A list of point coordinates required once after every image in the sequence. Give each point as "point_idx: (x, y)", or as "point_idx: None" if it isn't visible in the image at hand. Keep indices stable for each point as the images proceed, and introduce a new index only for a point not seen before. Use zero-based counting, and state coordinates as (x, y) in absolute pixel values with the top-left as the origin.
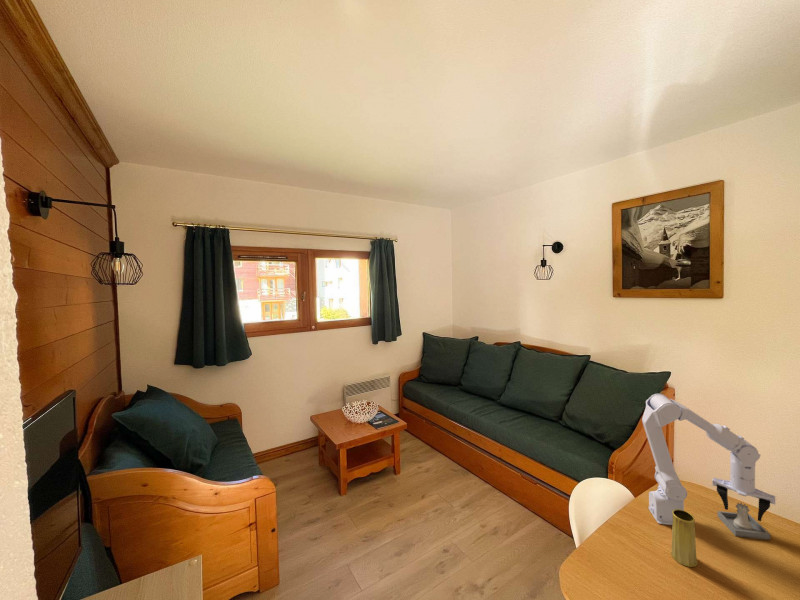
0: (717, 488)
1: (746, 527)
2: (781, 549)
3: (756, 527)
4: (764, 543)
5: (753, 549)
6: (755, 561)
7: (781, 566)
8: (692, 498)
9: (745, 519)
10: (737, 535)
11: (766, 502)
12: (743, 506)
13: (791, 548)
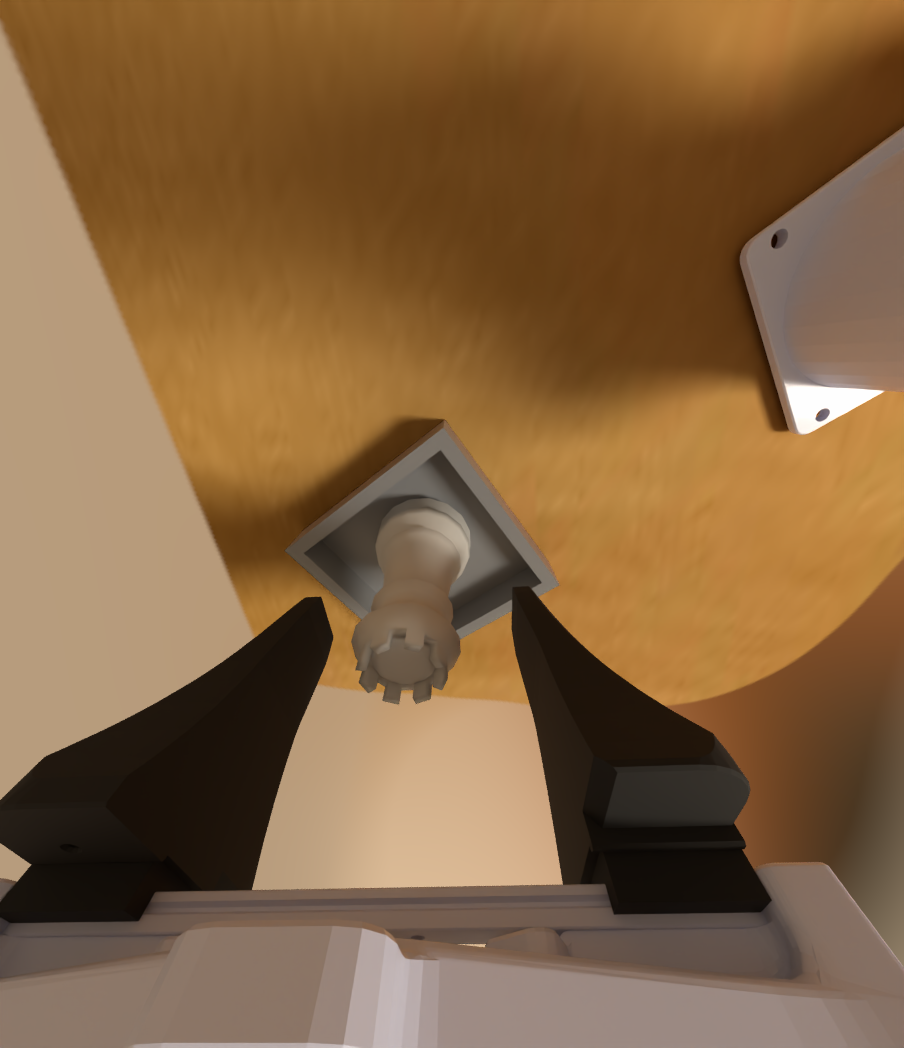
0: (728, 817)
1: (395, 520)
2: (240, 482)
3: (374, 590)
4: (312, 473)
5: (334, 340)
6: (278, 148)
7: (161, 262)
8: (667, 638)
9: (394, 563)
10: (435, 429)
11: (73, 862)
12: (396, 667)
13: (217, 531)
